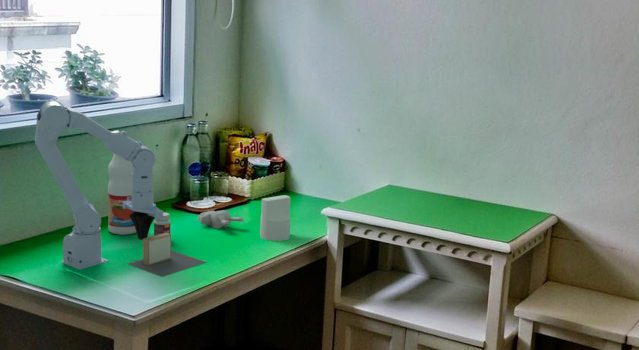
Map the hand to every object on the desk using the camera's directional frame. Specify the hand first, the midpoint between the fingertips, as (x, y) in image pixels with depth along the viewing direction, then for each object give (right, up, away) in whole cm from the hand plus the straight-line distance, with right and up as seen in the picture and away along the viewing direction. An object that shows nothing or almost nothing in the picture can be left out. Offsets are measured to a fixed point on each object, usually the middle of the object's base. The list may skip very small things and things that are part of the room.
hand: (142, 238), depth 229 cm
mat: (+7, -7, -3) cm, 11 cm away
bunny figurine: (+17, +1, +33) cm, 37 cm away
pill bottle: (+2, -2, +15) cm, 16 cm away
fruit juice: (-11, 0, +24) cm, 27 cm away
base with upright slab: (+35, -1, +25) cm, 43 cm away
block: (+4, -6, -2) cm, 8 cm away
